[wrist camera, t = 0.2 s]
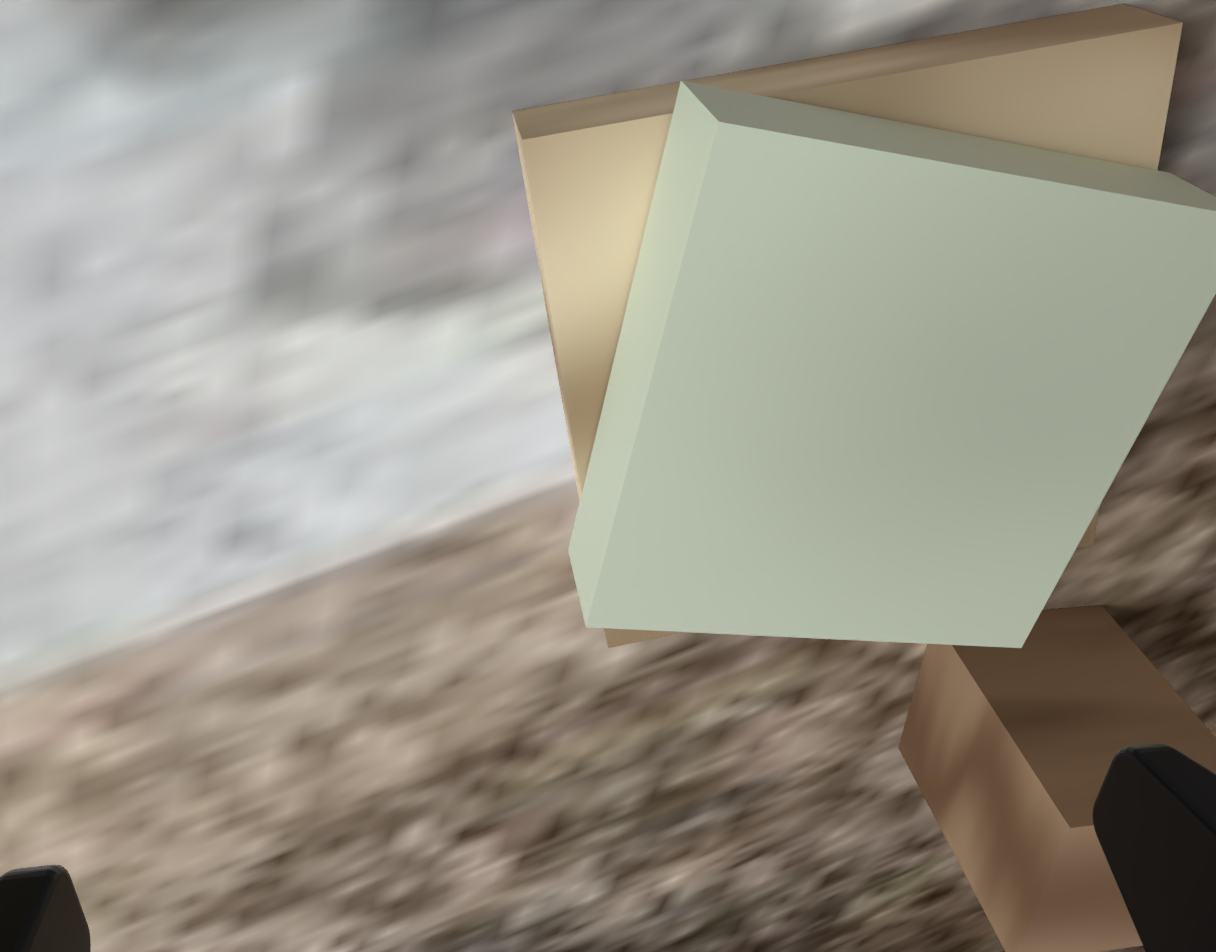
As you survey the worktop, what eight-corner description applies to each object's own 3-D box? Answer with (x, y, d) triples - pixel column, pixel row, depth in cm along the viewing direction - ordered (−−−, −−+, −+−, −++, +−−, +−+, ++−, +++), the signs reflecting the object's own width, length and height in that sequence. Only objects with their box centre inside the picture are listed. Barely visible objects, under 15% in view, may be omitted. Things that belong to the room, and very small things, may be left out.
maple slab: (1040, 487, 28) (1092, 545, 26) (592, 581, 27) (608, 647, 25) (1105, -3, 21) (1183, 22, 19) (508, 102, 20) (522, 139, 18)
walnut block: (1051, 731, 32) (1195, 937, 27) (898, 747, 32) (1011, 963, 26) (1101, 604, 30) (1272, 803, 24) (934, 617, 29) (1069, 828, 23)
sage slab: (970, 577, 26) (1021, 648, 24) (567, 550, 23) (585, 626, 21) (1170, 172, 21) (1256, 218, 19) (680, 80, 18) (718, 121, 16)
